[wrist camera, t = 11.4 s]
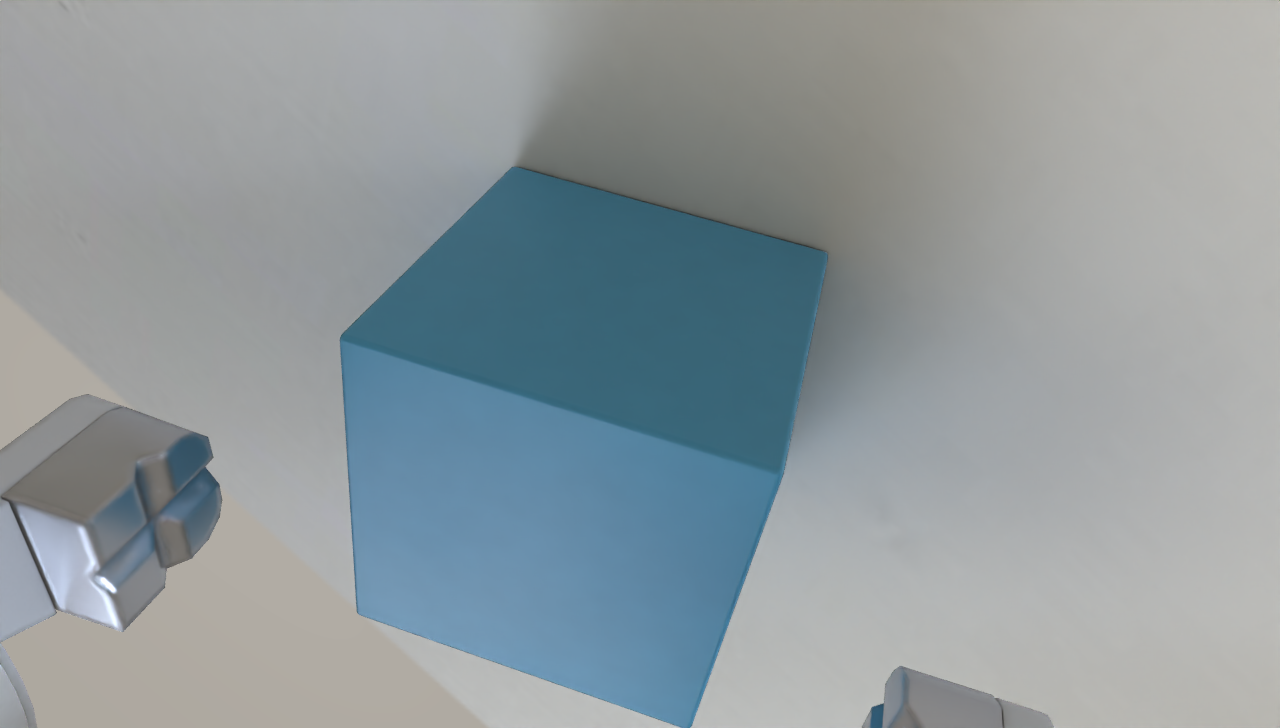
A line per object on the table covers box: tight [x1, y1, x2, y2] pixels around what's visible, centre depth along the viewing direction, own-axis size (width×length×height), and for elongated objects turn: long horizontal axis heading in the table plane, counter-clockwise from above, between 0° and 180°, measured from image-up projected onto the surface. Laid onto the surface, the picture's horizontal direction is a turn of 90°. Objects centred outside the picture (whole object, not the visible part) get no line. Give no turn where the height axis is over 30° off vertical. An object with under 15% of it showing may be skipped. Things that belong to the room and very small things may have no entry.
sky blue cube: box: [340, 167, 828, 728], centre depth 13 cm, size 5×5×5 cm
